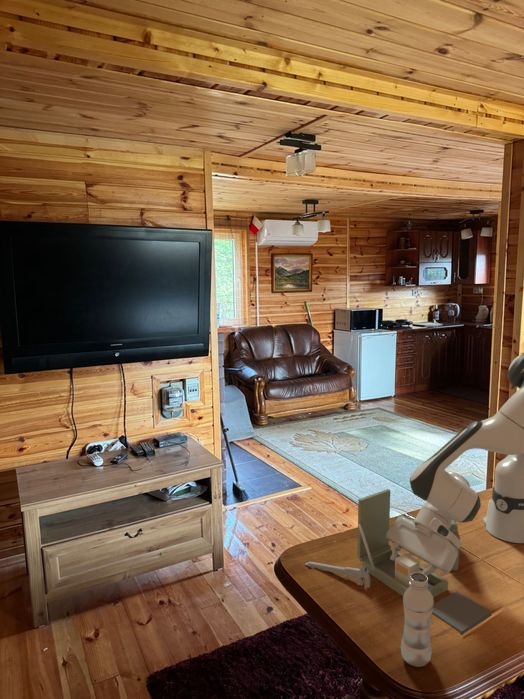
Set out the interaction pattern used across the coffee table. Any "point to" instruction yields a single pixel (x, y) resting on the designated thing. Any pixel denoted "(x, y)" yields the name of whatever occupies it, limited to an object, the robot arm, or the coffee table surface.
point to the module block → (405, 568)
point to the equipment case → (383, 544)
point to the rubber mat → (460, 612)
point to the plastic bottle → (417, 621)
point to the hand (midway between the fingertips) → (405, 569)
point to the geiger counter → (455, 531)
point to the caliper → (344, 571)
